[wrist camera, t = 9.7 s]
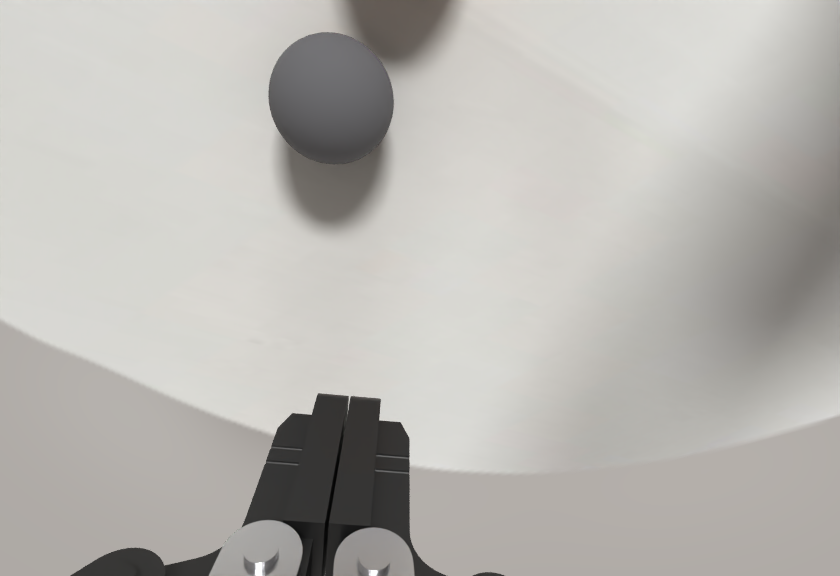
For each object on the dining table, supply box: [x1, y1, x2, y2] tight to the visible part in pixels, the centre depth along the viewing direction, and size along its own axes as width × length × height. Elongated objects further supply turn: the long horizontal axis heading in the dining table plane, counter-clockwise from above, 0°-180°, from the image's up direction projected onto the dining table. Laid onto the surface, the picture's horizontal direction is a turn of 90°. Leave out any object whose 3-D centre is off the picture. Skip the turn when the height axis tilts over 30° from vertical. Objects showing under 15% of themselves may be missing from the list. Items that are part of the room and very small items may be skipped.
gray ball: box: [269, 32, 394, 164], centre depth 22 cm, size 6×6×6 cm
